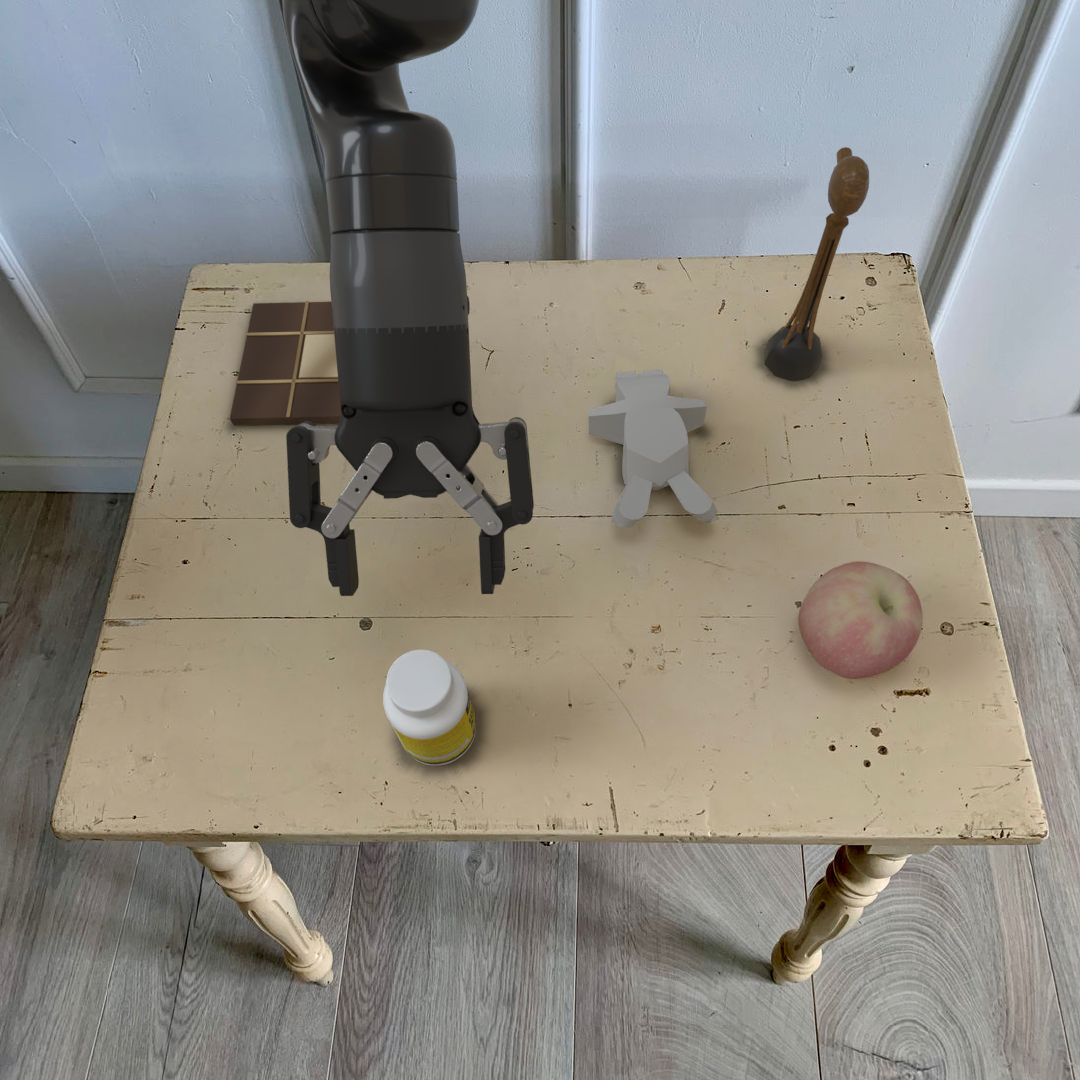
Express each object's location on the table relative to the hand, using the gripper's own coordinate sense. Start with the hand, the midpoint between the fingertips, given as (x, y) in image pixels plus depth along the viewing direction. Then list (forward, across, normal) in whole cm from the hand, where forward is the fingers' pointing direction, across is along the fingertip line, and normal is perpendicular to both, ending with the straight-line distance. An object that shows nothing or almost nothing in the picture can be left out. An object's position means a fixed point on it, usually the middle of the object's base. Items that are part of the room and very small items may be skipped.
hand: (419, 591), depth 54 cm
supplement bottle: (+12, 0, +5) cm, 13 cm away
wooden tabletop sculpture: (-11, +29, +28) cm, 42 cm away
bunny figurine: (-4, +16, +20) cm, 26 cm away
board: (-12, -11, +28) cm, 32 cm away
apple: (+8, +29, +9) cm, 31 cm away
